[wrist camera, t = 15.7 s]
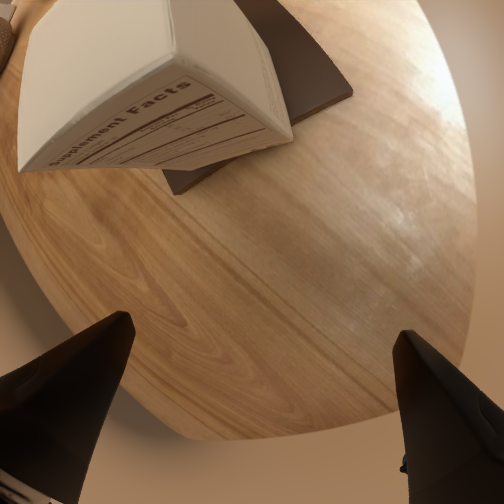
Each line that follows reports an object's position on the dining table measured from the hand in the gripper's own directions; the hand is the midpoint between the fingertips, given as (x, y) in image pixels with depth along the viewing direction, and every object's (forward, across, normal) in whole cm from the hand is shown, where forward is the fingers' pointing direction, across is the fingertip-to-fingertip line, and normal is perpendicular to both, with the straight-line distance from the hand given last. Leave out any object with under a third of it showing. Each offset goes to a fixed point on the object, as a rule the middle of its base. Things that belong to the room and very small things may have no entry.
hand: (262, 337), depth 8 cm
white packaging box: (+12, +3, -7) cm, 15 cm away
